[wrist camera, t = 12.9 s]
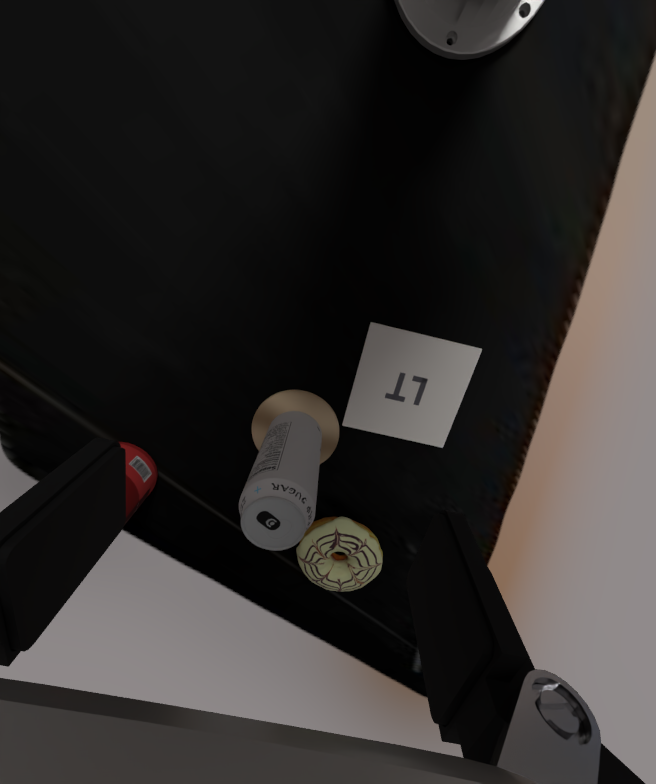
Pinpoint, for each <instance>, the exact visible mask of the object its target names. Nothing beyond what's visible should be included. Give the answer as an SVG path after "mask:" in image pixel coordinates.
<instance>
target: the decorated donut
mask: <svg viewBox="0 0 656 784" xmlns="http://www.w3.org/2000/svg"><path fill="white" fill-rule="evenodd" d="M296 551H297V558H298V562H299V565H300V567H301V569H302V571H303V572H304V574H305V575H306V576H307V577H308V578H309V580H310V581H312V582H313V583H315V584H317V585H318V586H321V587H323V588H324V589H326V590H331V591H339V592H343V591H352V590H355V589H358V588H361V587H363V586H364V585H366V584H367V583H369V582H370V581H371V580H372V579H374V578H375V577H376V576H377V575H378V574H379V572H380V571H381V567H382V557H383V553H382V550H381V548H380V545H379V542H378V539H377V538H376V536H375V535H374V534H373V533H372V532H371V531H370V530H369V529H368V528H367V527H366V526H364V525H363V524H361V523H358V522H356V521H353V520H351V519H349V518H347V517H343V516H342V517H335V516H333V517H326V518H322V519H320V520H317V521H314V522H313V523H312V524H311V526H310V527H309V528H308V529H307V530H306V531H305V533H304V536H303V538H302V539H301V540H300V544H299V546H298V547H297V548H296ZM334 552H344V553H345V554H342V555H339V554H335V553H334Z"/></svg>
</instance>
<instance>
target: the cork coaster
mask: <svg viewBox="0 0 656 784" xmlns="http://www.w3.org/2000/svg"><path fill="white" fill-rule="evenodd" d="M288 411H300V412H303V413H306V414H308V415H310V416H311V417H312V418H314V419H315V420H316V421H317V423H318V424H319V426H320V428H321V431H322V442H321V454H320V464H321V463H323V462H324V461H325V460H327V459H328V458H329V457H330V456H331V454H332V453H333V452H334V450H335V448H336V446H337V443H338V439H339V423H338V419H337V417H336V414H335V412H334V411H333V409H332V408H331V406H330V405H329V404H328V403H327V402H326V401H325V400H323V399H322V398H321V397H319V396H317V395H315V394H313V393H311V392H308V391H303V390H285V391H281V392H278V393H275V394H273V395H271V396H270V397H268V398H267V399H266V400H265V401H264V402H263V403H262V404H261V405H260V406H259V408H258V409H257V411H256V413H255V415H254V418H253V421H252V437H253V440H254V443H255V445H256V447H257V449H258V450H260V448H261V446H262V443H263V441H264V438H265V436H266V433H267V431H268V429H269V426H270V424H271V422H272V421H273V420H274V419H275V418H276V417H277V416H278V415H280V414H282V413H285V412H288Z"/></svg>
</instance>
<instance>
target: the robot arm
mask: <svg viewBox="0 0 656 784" xmlns="http://www.w3.org/2000/svg"><path fill="white" fill-rule="evenodd" d="M394 1H395V4H396V6H397V9H398V12H399V14H400V17H401V19H402V20H403V22H404V24H405V25H406V27H407V28H408V30H409V32H410V33H411V34H412V35H413V36H414V37H415V38H416V40H417V41H418V42H419V43H420V44H421V45H423V46H424V47H426V48H427V49H428V50H430V51H431V52H433V53H435V54H437V55H440V56H443V57H446V58H449V59H458V60H467V59H474V58H479V57H482V56H485V55H487V54H490V53H493V52H495V51H496V50H498V49H499V48H501V47H503V46H504V45H506V44H507V43H509V42H510V41H511V40H512V39H513V38H514V37H515V36H517V35H518V34H519V33H520V32H521V31H522V30H523V29H524V28H525V26H526V25H527V24H528V23H529V22H530V20H531V19H532V18H533V17H534V16H535V14H536V13H537V11H538V10H539V8H540V7H541V5H542V4H543V3H544V1H545V0H394ZM519 14H520V15H521V16H522V17H521V16H520V15H519ZM447 41H449V42H450V43H451V46H450V45H448V44H447ZM125 520H126V452H125V449H124V448H121V445H120V443H119V442H117V441H112V440H107V439H103V438H95V439H93V440H92V441H91V442H90V443H88V444H87V445H86V446H84V447H83V448H82V449H81V450H79V451H78V452H77V453H76V454H74V455H73V456H72V457H70V458H69V459H68V460H67V461H65V462H64V463H63V464H61V465H60V466H59V467H58V468H56V469H55V470H54V471H53V472H51V473H50V474H49V475H47V476H46V477H45V478H44V479H42V480H41V481H40V482H38V483H37V484H36V485H35V486H33V487H32V488H31V489H29V490H28V491H27V492H26V493H24V494H23V495H22V496H20V497H19V498H18V499H17V500H15V501H14V502H13V503H12V504H10V505H9V506H8V507H6V508H5V509H4V510H3V511H2V512H0V665H3V666H9V665H10V664H11V663H12V661H13V660H14V659H15V658H16V656H17V655H18V654H19V653H20V651H26V650H28V649H29V648H30V647H31V646H32V645H33V644H34V643H35V642H36V640H37V639H38V638H39V637H40V635H41V634H42V632H43V631H44V630H45V629H46V627H47V626H48V625H49V624H50V622H51V621H52V620H53V618H54V617H55V616H56V614H57V613H58V612H59V611H60V609H61V608H62V607H63V605H64V604H65V603H66V601H67V600H68V599H69V598H70V596H71V595H72V594H73V592H74V591H75V590H76V588H77V587H78V586H79V585H80V583H81V582H82V581H83V580H84V578H85V577H86V576H87V574H88V573H89V572H90V570H91V569H92V568H93V566H94V565H95V564H96V562H97V561H98V560H99V559H100V557H101V556H102V555H103V554H104V552H105V551H106V550H107V548H108V547H109V546H110V544H111V543H112V542H113V541H114V539H115V538H116V537H117V535H118V534H119V533H120V532H121V530H122V528H123V526H124V524H125ZM407 590H408V596H409V601H410V606H411V612H412V617H413V622H414V628H415V633H416V638H417V643H418V649H419V654H420V659H421V665H422V670H423V675H424V681H425V686H426V691H427V696H428V702H429V707H430V712H431V716H432V719H433V721H434V723H436V724H439V729H440V734H441V739H442V741H443V742H449V743H455V744H460V745H461V749H462V753H463V757H464V758H461V757H456V756H451V755H446V754H441V753H436V752H431V751H426V750H421V749H416V748H411V747H406V746H401V745H396V744H390V743H384V742H379V741H373V740H367V739H362V738H356V737H350V736H345V735H339V734H334V733H328V732H322V731H317V730H311V729H305V728H299V727H294V726H288V725H283V724H277V723H271V722H265V721H259V720H253V719H248V718H242V717H236V716H230V715H224V714H219V713H213V712H206V711H201V710H195V709H189V708H183V707H177V706H172V705H166V704H160V703H153V702H147V701H142V700H136V699H130V698H123V697H117V696H111V695H105V694H99V693H93V692H87V691H81V690H74V689H69V688H63V687H57V686H50V685H45V684H37V683H31V682H24V681H17V680H10V679H3V678H0V784H645V783H644V782H643V781H642V780H641V779H640V778H638V776H636V775H635V774H634V773H633V772H632V771H631V770H630V769H629V768H628V767H627V766H625V765H624V764H623V763H622V762H621V761H620V760H619V759H618V758H617V757H616V756H614V755H613V754H612V753H611V752H610V751H609V750H608V749H607V748H605V746H604V745H603V744H601V737H600V730H599V727H598V725H597V722H596V719H595V717H594V715H593V714H592V712H591V710H590V709H589V707H588V705H587V704H586V703H585V701H584V700H583V699H582V698H581V696H580V695H579V694H578V693H577V692H576V691H575V690H574V689H573V688H572V687H571V686H570V685H569V684H568V683H567V682H566V681H564V680H562V679H561V678H559V677H558V676H557V675H555V674H553V673H550V672H548V671H545V670H537V669H535V668H534V666H533V664H532V662H531V659H530V657H529V655H528V653H527V651H526V648H525V646H524V644H523V642H522V640H521V637H520V635H519V633H518V631H517V629H516V626H515V624H514V622H513V620H512V618H511V615H510V613H509V611H508V609H507V607H506V604H505V602H504V600H503V598H502V595H501V593H500V591H499V589H498V587H497V584H496V582H495V580H494V578H493V576H492V573H491V572H490V570H489V568H488V567H487V565H486V563H485V561H484V559H483V556H482V554H481V552H480V550H479V547H478V545H477V543H476V541H475V539H474V536H473V534H472V532H471V530H470V527H469V525H468V523H467V521H466V519H465V517H464V515H463V514H461V513H457V512H452V511H447V510H442V511H441V512H440V514H435V515H434V517H433V519H432V521H431V523H430V526H429V528H428V530H427V532H426V535H425V537H424V539H423V541H422V544H421V546H420V548H419V550H418V552H417V555H416V557H415V559H414V561H413V564H412V566H411V568H410V570H409V573H408V575H407Z"/></svg>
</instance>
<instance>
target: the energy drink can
mask: <svg viewBox="0 0 656 784" xmlns="http://www.w3.org/2000/svg"><path fill="white" fill-rule="evenodd" d="M321 442H322V431H321V428H320V426H319V424H318V423H317V421H316V420H315V419H314V418H312V417H311V416H310V415H308V414H306V413H303V412H300V411H288V412H285V413H282V414H280V415H278V416H277V417H276V418H275V419H274V420H273V421H272V422H271V424H270V426H269V429H268V431H267V433H266V436H265V438H264V441H263V443H262V446H261V448H260V450H259V453H258V455H257V458H256V460H255V463H254V465H253V468H252V470H251V472H250V475H249V477H248V480H247V482H246V485H245V487H244V490H243V492H242V494H241V497H240V501H239V512H240V516H241V527H242V531H243V533H244V535H245V536H246V537H247V539H248V540H249V541H251V542H252V543H253V544H255V545H256V546H258V547H260V548H263V549H267V550H274V551H277V550H285V549H288V548H291V547H293V546H294V545H296V544H297V543H298V542H299V541H300V540H301V539H302V538H303V536H304V533H305V531H306V530H307V529H308V528H309V527H310V526H311V524H312V523H313V520H314V517H315V510H316V499H317V487H318V476H319V465H320V454H321Z"/></svg>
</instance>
